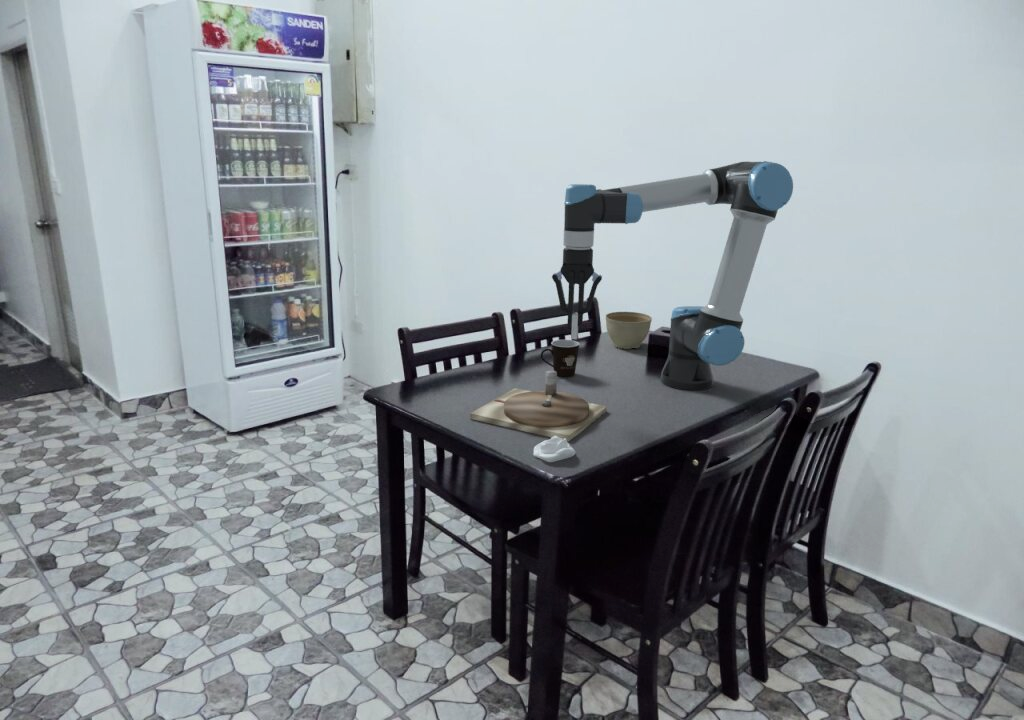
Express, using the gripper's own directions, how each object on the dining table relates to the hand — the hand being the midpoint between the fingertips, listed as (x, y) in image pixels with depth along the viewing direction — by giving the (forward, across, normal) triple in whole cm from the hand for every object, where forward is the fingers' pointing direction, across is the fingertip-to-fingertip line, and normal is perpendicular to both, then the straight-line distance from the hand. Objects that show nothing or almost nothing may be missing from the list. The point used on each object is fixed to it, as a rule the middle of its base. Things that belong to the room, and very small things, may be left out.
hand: (574, 337), depth 178 cm
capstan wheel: (+18, +6, +9) cm, 21 cm away
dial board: (+19, +8, +8) cm, 22 cm away
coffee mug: (+19, +6, -28) cm, 34 cm away
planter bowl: (+19, -14, -65) cm, 69 cm away
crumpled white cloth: (+20, +1, +32) cm, 37 cm away
